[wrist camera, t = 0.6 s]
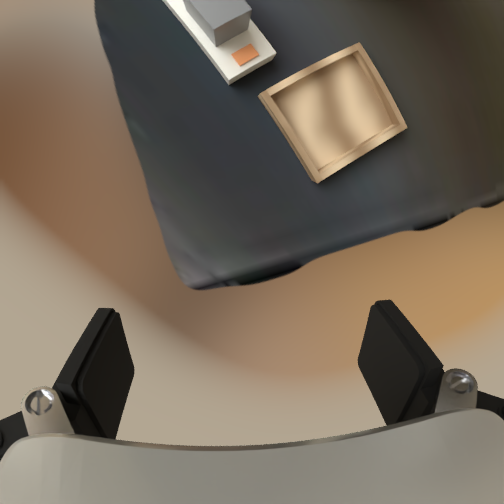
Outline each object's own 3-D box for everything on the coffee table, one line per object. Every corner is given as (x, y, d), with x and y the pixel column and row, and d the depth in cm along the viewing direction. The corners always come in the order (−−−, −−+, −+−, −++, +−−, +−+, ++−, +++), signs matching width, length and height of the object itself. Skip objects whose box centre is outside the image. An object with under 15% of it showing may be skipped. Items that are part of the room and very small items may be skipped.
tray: (351, 47, 30) (359, 42, 28) (397, 127, 34) (407, 127, 32) (257, 96, 32) (259, 93, 30) (311, 179, 36) (317, 183, 34)
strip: (184, -43, 24) (180, -58, 20) (272, 60, 31) (277, 51, 27) (143, -21, 24) (136, -34, 21) (228, 85, 31) (228, 79, 28)
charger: (218, 1, 26) (216, -31, 18) (246, 36, 28) (252, 9, 20) (189, 18, 27) (178, -12, 19) (216, 53, 29) (213, 29, 21)
